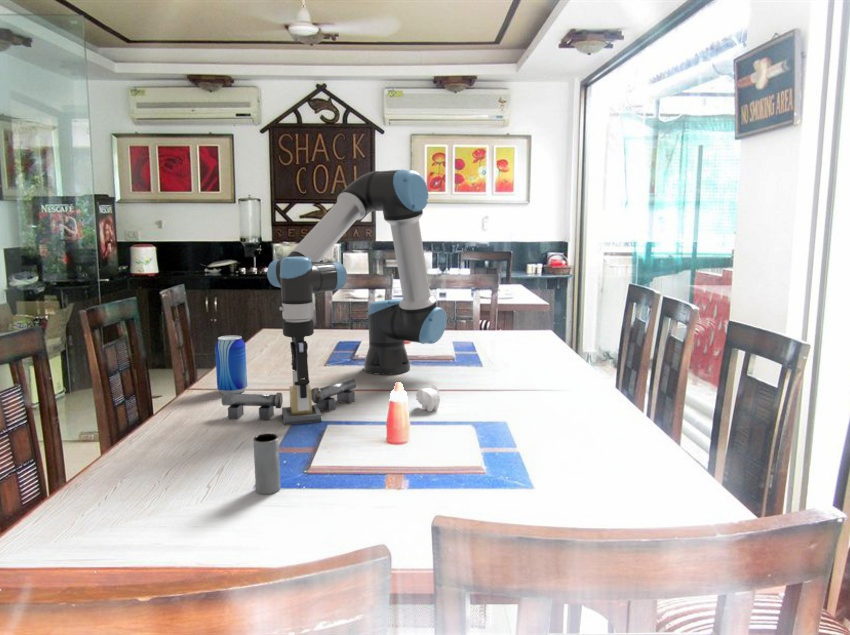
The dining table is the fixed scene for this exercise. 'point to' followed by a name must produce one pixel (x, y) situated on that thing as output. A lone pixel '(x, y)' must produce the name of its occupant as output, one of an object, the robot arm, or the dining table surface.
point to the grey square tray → (301, 416)
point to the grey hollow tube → (266, 463)
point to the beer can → (231, 364)
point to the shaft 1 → (252, 404)
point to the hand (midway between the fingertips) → (301, 402)
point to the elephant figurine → (428, 398)
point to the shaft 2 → (340, 389)
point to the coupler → (294, 402)
